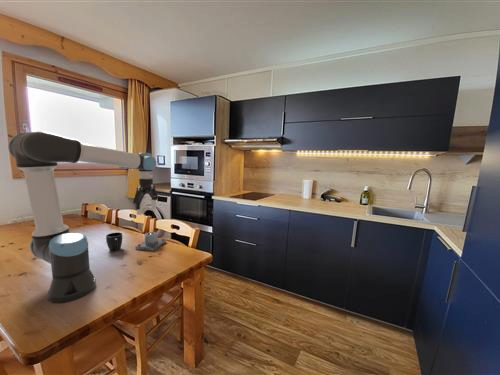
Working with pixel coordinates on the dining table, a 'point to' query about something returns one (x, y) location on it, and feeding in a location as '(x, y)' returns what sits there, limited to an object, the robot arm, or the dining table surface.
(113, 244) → the mug
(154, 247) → the shaft block
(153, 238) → the hub
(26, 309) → the dining table surface
